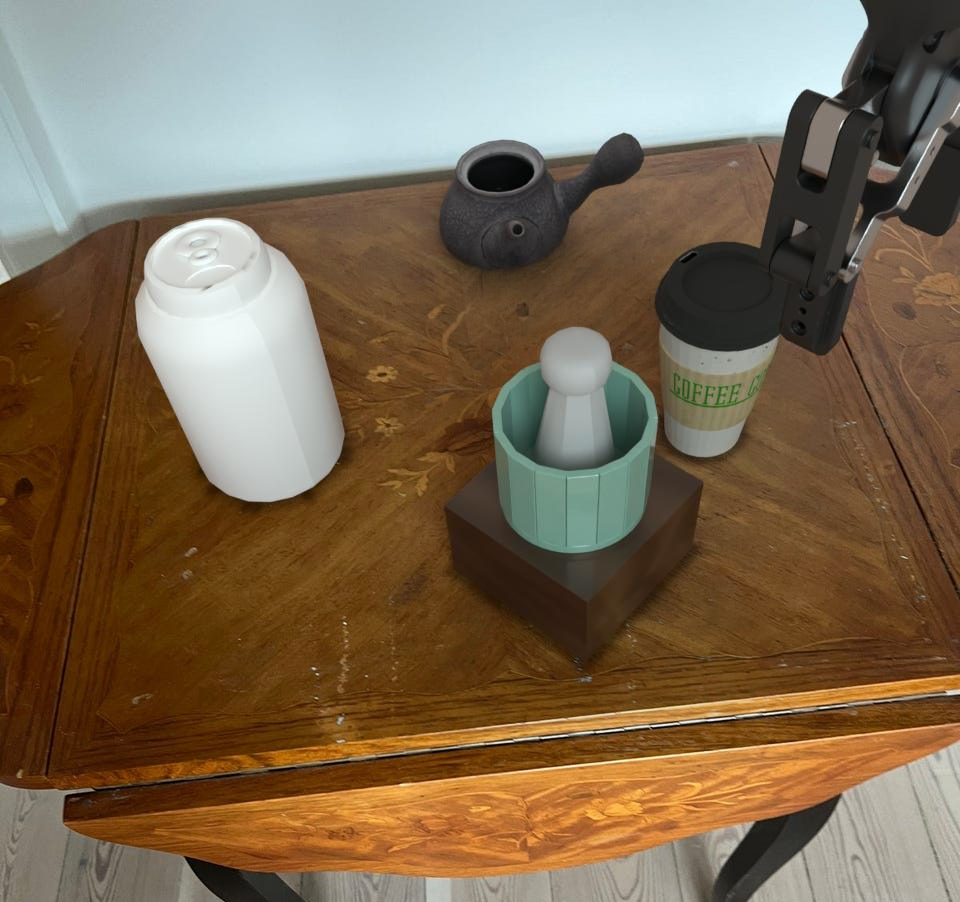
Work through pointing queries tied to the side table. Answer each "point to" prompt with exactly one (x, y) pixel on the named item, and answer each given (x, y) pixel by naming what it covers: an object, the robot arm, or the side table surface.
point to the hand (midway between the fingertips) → (867, 281)
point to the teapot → (522, 200)
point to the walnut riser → (573, 559)
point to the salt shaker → (575, 402)
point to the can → (239, 359)
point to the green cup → (580, 493)
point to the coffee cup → (715, 343)
